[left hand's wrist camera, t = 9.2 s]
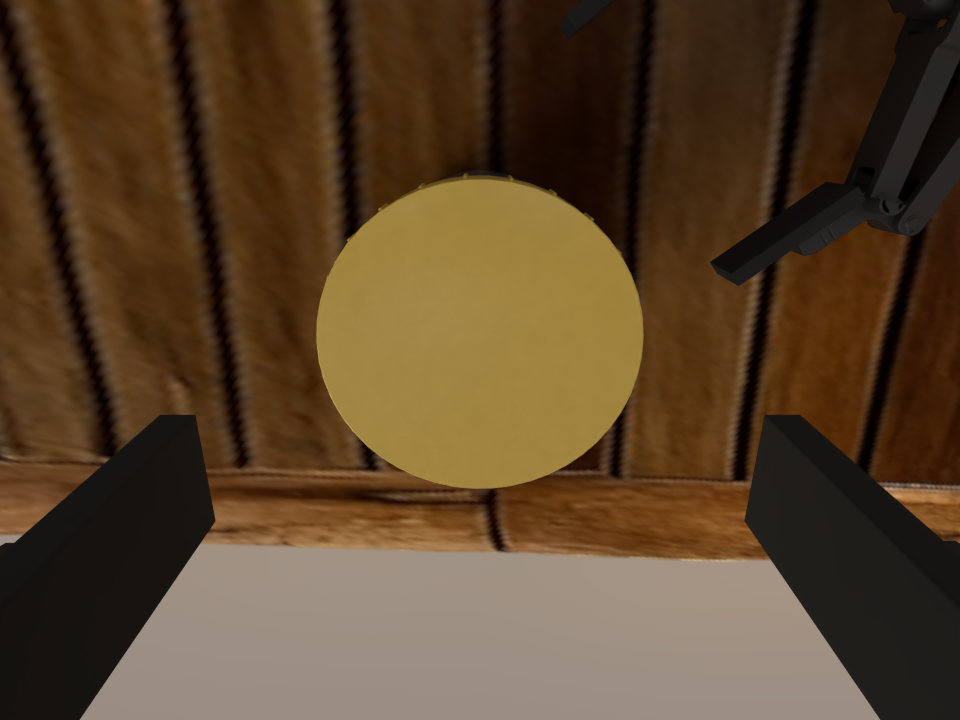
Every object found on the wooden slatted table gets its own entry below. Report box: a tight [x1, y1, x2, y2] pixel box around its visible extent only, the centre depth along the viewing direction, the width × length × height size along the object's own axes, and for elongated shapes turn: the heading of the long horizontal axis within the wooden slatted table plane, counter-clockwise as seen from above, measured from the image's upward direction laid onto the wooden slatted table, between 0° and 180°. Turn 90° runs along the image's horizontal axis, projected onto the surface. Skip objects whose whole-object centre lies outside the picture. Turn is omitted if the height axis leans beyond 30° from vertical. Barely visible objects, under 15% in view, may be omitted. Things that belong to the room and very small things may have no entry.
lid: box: [317, 173, 644, 488], centre depth 21 cm, size 11×11×2 cm
